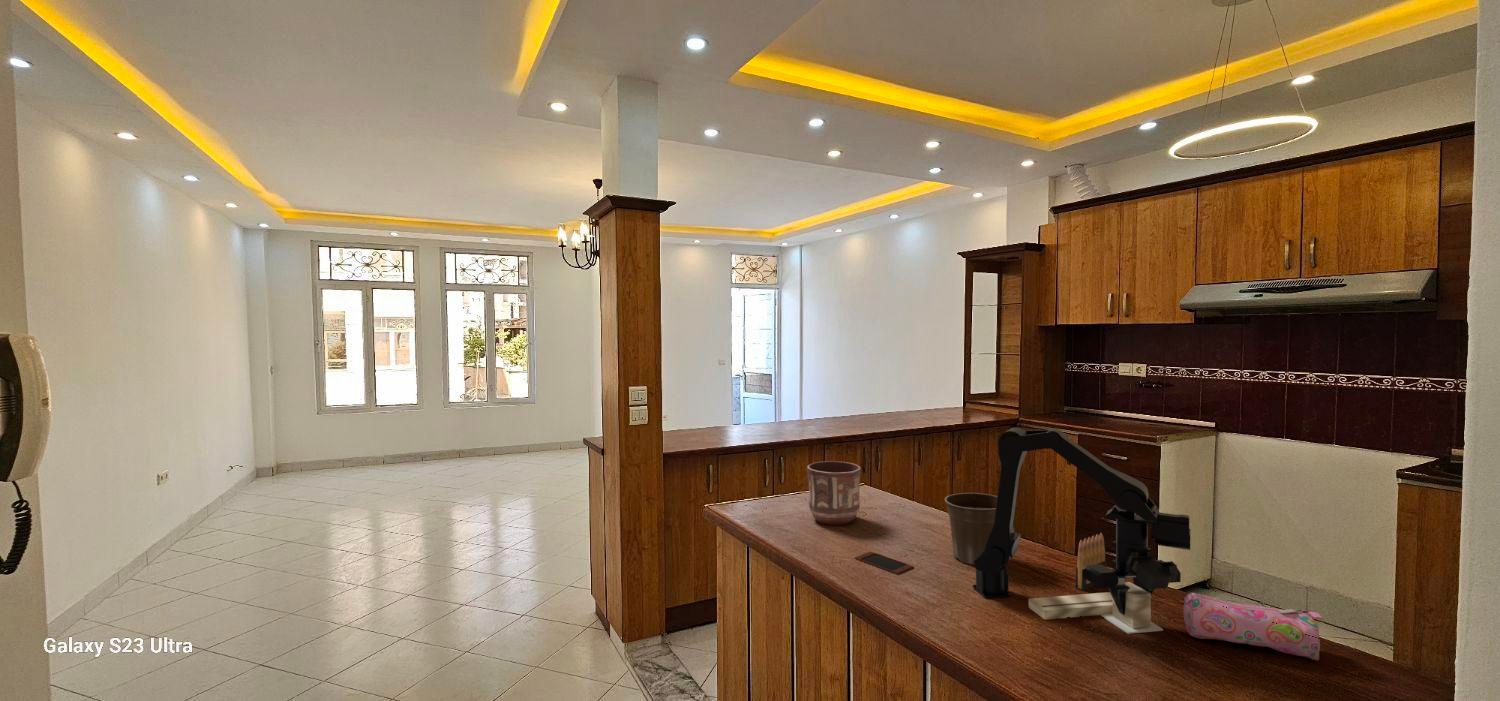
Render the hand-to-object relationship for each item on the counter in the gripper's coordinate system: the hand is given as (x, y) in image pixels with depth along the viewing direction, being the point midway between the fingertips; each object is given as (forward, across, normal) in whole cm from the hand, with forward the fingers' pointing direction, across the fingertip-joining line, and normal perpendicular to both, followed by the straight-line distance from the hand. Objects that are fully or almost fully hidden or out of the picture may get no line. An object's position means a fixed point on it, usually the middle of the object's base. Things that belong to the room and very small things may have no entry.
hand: (1131, 613), depth 133 cm
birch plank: (+2, -6, +8) cm, 10 cm away
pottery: (+3, -43, +80) cm, 91 cm away
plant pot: (+2, -14, +40) cm, 43 cm away
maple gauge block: (+2, 0, 0) cm, 2 cm away
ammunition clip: (+2, +5, +20) cm, 20 cm away
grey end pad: (+2, 0, 0) cm, 2 cm away
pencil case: (+2, +16, -12) cm, 20 cm away
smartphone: (+3, -40, +42) cm, 58 cm away
